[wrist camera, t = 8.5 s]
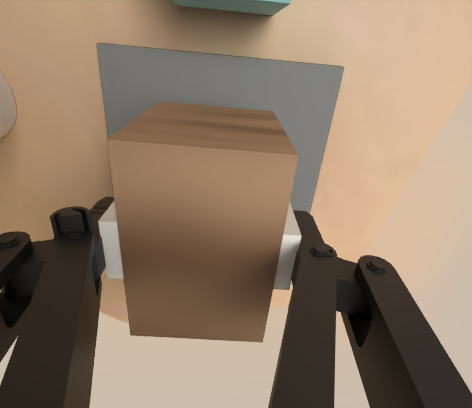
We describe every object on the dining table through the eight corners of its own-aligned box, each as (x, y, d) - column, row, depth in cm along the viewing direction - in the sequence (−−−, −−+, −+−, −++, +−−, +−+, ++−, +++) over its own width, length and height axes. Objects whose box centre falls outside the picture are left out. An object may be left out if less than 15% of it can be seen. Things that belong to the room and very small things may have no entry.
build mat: (101, 43, 20) (96, 43, 19) (340, 66, 20) (344, 67, 20) (120, 213, 26) (117, 218, 25) (303, 226, 26) (305, 231, 26)
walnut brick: (158, 101, 15) (107, 139, 9) (273, 111, 16) (298, 155, 10) (163, 243, 20) (130, 335, 13) (254, 249, 20) (262, 342, 14)
